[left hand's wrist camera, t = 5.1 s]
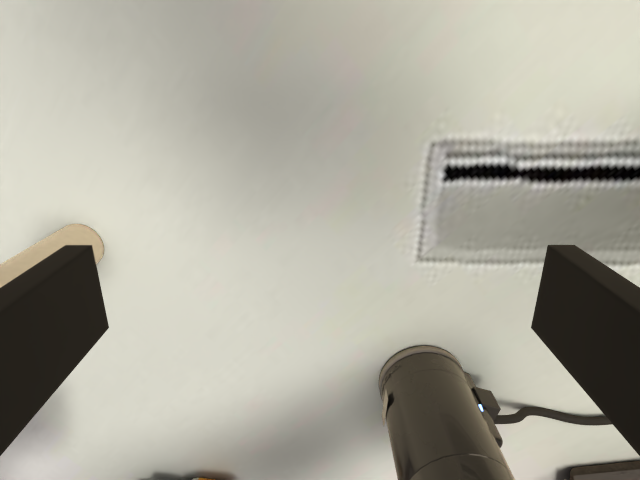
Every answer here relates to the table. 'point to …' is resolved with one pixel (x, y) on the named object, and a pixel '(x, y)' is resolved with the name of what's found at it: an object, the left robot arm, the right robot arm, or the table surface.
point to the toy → (607, 472)
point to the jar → (50, 250)
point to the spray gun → (201, 479)
